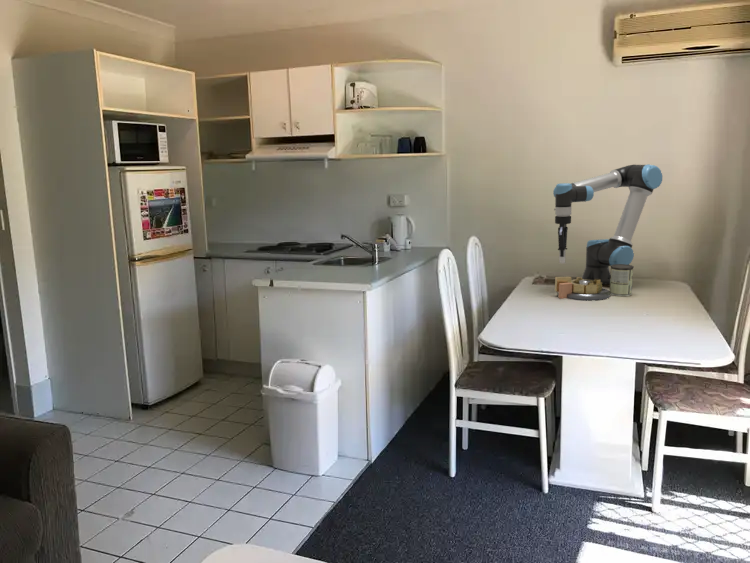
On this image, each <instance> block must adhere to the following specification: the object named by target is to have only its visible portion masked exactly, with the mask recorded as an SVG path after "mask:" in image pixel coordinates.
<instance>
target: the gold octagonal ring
mask: <svg viewBox="0 0 750 563" xmlns="http://www.w3.org/2000/svg"><path fill="white" fill-rule="evenodd" d="M554 278H555V280H554V292H556V293H559V284H560V283H568V282H569V283H572V292H573V293H581V294H597V293H599V292H601V291H602V288H603V285H602V283H601V282H600V281H601V280H600V279H595V280H589V281H590V282H588V285H583V284H579V281H580V280H584V279H582V276H576V279H572V276H555V277H554ZM585 280H588V279H585Z"/></svg>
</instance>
